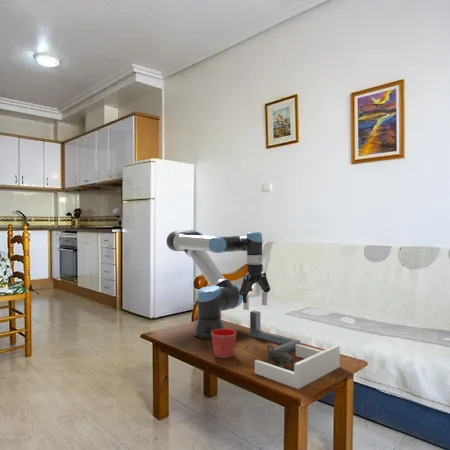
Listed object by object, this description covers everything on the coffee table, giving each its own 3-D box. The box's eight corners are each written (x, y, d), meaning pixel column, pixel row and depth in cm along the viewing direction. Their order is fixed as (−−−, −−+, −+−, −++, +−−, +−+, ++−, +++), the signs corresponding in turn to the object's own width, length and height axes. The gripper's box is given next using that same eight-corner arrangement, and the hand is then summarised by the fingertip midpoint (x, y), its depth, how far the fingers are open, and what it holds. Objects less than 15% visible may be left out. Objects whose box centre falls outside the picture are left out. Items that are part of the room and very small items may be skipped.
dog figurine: (263, 365, 143) (262, 346, 143) (271, 361, 148) (271, 342, 148) (290, 373, 136) (290, 352, 136) (298, 368, 140) (298, 348, 140)
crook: (226, 343, 171) (226, 317, 171) (254, 334, 184) (254, 310, 184) (273, 358, 151) (273, 328, 151) (300, 347, 164) (300, 320, 164)
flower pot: (239, 351, 159) (239, 329, 160) (233, 360, 149) (232, 336, 149) (215, 349, 162) (215, 327, 162) (207, 358, 152) (207, 334, 152)
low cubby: (254, 373, 136) (254, 351, 136) (297, 354, 155) (297, 335, 155) (298, 389, 122) (298, 364, 122) (339, 367, 141) (339, 345, 141)
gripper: (242, 266, 170) (243, 312, 170) (276, 262, 188) (277, 304, 187) (231, 265, 176) (232, 310, 175) (265, 261, 193) (266, 302, 193)
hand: (255, 307), depth 181 cm, fingers open, 13 cm apart
